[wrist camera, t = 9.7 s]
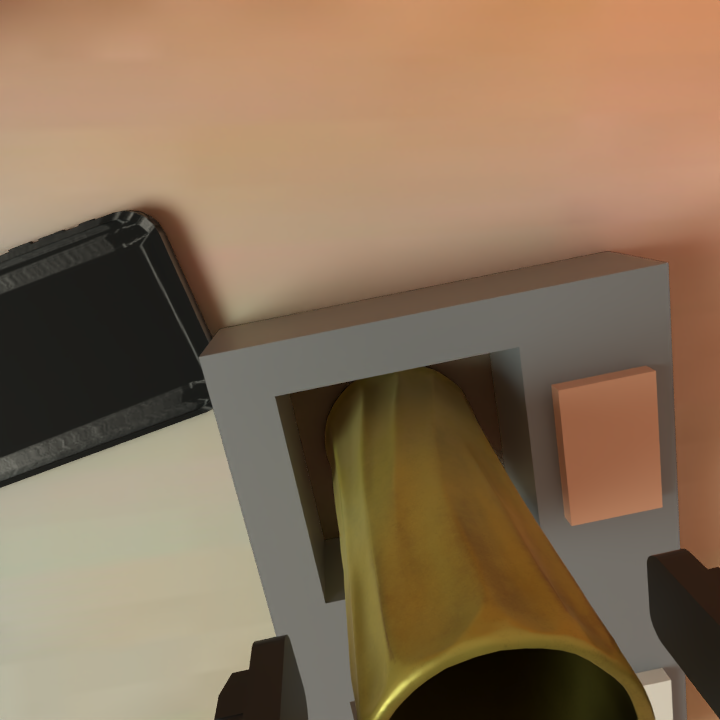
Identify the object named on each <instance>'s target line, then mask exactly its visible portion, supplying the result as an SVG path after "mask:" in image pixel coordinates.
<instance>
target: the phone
mask: <svg viewBox="0 0 720 720" xmlns="http://www.w3.org/2000/svg"><path fill="white" fill-rule="evenodd" d="M38 240H39V241H38V242H35V243H33V242H28V243H26V244H23V245H20V246H18V247H15V248H13V249H10V250H8V251H9V253H6V254H4V255H1V256H0V488H1V487H4V486H6V485H9V484H12V483H14V482H17V481H20V480H23V479H25V478H28V477H31V476H34V475H36V474H39V473H42V472H44V471H47V470H50V469H53V468H55V467H58V466H61V465H63V464H66V463H69V462H72V461H74V460H77V459H80V458H83V457H85V456H88V455H91V454H93V453H96V452H99V451H102V450H104V449H107V448H110V447H113V446H115V445H118V444H121V443H123V442H126V441H129V440H132V439H134V438H137V437H140V436H143V435H145V434H148V433H151V432H153V431H156V430H159V429H162V428H164V427H167V426H170V425H173V424H175V423H178V422H181V421H183V420H186V419H189V418H192V417H194V416H197V415H200V414H203V413H205V412H208V411H209V410H211V409H213V407H212V403H211V399H210V396H209V392H208V389H207V385H206V381H205V378H204V374H203V371H202V367H201V363H200V360H199V356H200V355H201V353H202V352H203V351H204V349H205V348H206V347H207V345H208V344H209V343H210V341H211V340H212V336H211V334H210V332H209V329H208V327H207V325H206V323H205V321H204V318H203V316H202V314H201V312H200V309H199V307H198V305H197V303H196V301H195V298H194V296H193V294H192V292H191V289H190V287H189V285H188V283H187V280H186V278H185V276H184V274H183V272H182V269H181V267H180V265H179V263H178V260H177V258H176V256H175V254H174V251H173V249H172V247H171V245H170V243H169V240H168V238H167V236H166V234H165V232H164V230H163V229H162V227H161V225H160V224H159V223H158V222H157V221H156V220H155V219H154V218H152V217H151V216H149V215H147V214H145V213H143V212H139V211H131V210H129V211H120V212H115V213H112V214H109V215H106V216H104V217H101V218H98V219H96V220H95V219H92V220H89V221H87V222H84V223H81V224H79V226H77V227H75V228H72V229H69V230H67V231H66V230H62V231H59V232H56V233H54V234H51V235H48V236H46V237H43V238H40V239H38Z"/></svg>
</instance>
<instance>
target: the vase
mask: <svg viewBox="0 0 720 720" xmlns="http://www.w3.org/2000/svg"><path fill="white" fill-rule="evenodd" d="M325 449H326V455H327V459H328V461H329V464H330V466H331V471H332V481H333V490H334V498H335V507H336V514H337V521H338V527H339V533H340V547H341V556H342V563H343V570H344V586H345V602H346V617H347V631H348V645H349V662H350V673H351V682H352V688H353V694H354V699H355V706H356V713H357V720H656V719H655V715H654V712H653V708H652V705H651V702H650V700H649V698H648V695H647V693H646V691H645V688H644V687H643V685H642V683H641V682H640V680H639V678H638V677H637V675H636V674H635V672H634V670H633V669H632V667H631V666H630V664H629V663H628V661H627V660H626V658H625V657H624V655H623V654H622V652H621V651H620V649H619V647H618V645H617V643H616V642H615V640H614V638H613V637H612V635H611V634H610V633H609V631H608V630H607V628H606V627H605V625H604V624H603V622H602V621H601V619H600V618H599V617H598V615H597V614H596V612H595V610H594V609H593V607H592V606H591V604H590V603H589V601H588V600H587V598H586V597H585V595H584V593H583V592H582V590H581V589H580V587H579V586H578V584H577V583H576V581H575V579H574V578H573V576H572V575H571V573H570V572H569V570H568V569H567V567H566V566H565V564H564V563H563V561H562V560H561V558H560V557H559V555H558V554H557V552H556V551H555V549H554V548H553V546H552V545H551V543H550V541H549V540H548V538H547V537H546V535H545V534H544V532H543V531H542V529H541V528H540V526H539V525H538V523H537V522H536V520H535V519H534V517H533V515H532V514H531V512H530V511H529V509H528V507H527V506H526V504H525V502H524V501H523V499H522V498H521V496H520V494H519V493H518V491H517V489H516V488H515V486H514V484H513V483H512V481H511V480H510V478H509V476H508V474H507V473H506V471H505V469H504V467H503V466H502V464H501V462H500V461H499V459H498V457H497V455H496V454H495V452H494V450H493V449H492V447H491V445H490V444H489V442H488V440H487V438H486V436H485V435H484V433H483V431H482V429H481V427H480V426H479V424H478V422H477V420H476V418H475V415H474V413H473V410H472V408H471V406H470V405H469V403H468V401H467V399H466V397H465V395H464V393H463V392H462V390H461V388H460V387H458V386H457V385H456V384H455V383H454V382H453V381H451V380H450V379H448V378H447V377H446V376H444V375H443V374H441V373H439V372H438V371H435V370H433V369H430V368H427V367H418V368H413V369H408V370H403V371H398V372H393V373H388V374H383V375H378V376H373V377H369V378H364V379H359V380H355V381H354V382H352V383H351V384H350V385H349V386H348V387H347V388H346V389H345V390H344V391H343V392H342V394H341V395H340V396H339V398H338V399H337V400H336V402H335V404H334V405H333V407H332V409H331V411H330V413H329V415H328V419H327V422H326V428H325Z"/></svg>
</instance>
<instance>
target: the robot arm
mask: <svg viewBox="0 0 720 720" xmlns="http://www.w3.org/2000/svg"><path fill="white" fill-rule="evenodd" d="M647 578H648V595H649V611H650V617H651V621H652V624H653V627H654V630H655V632H656V634H657V636H658V638H659V640H660V641H661V643H662V644H663V646H664V647H665V648H666V650H667V651H668V652H669V653H670V655H671V656H672V657H673V659H674V660H675V661H676V663H677V664H678V665H679V666H680V668H681V669H682V670H683V672H684V673H685V674H686V676H687V677H688V678H689V680H690V681H691V682H692V683H693V685H694V686H695V687H696V689H697V690H698V691H699V693H700V694H701V695H702V697H703V698H704V699H705V700H706V702H707V703H708V704H709V706H710V707H711V708H712V710H713V711H714V712H715V714H716V715H717V716H718V717H719V719H720V568H718V567H717V568H712V569H707V568H706V567H705V566H703V565H702V564H701V563H700V562H699V561H698V560H697V559H696V558H695V557H694V556H693V555H692V554H691V553H690V552H689V551H687V550H686V549H678V550H674V551H669V552H665V553H660V554H656V555H651V556H649V557H648V559H647ZM214 720H308V710H307V701H306V695H305V690H304V686H303V683H302V679H301V676H300V672H299V669H298V665H297V662H296V658H295V655H294V651H293V648H292V644H291V641H290V638H289V636H288V635H282V636H278V637H273V638H269V639H264V640H260V641H255V642H254V643H253V645H252V651H251V659H250V667H249V670H245V671H240V672H235V673H232V674H231V676H230V678H229V679H228V681H227V683H226V684H225V686H224V688H223V689H222V691H221V693H220V694H219V697H218V702H217V708H216V713H215V719H214Z"/></svg>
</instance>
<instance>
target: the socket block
mask: <svg viewBox="0 0 720 720" xmlns="http://www.w3.org/2000/svg"><path fill="white" fill-rule="evenodd" d="M487 353H489V354H490V361H491V369H492V376H493V384H494V391H495V399H496V407H497V414H498V422H499V429H500V437H501V444H502V452H503V460H504V467H505V471H506V473H507V474H508V476H509V478H510V480H511V481H512V483H513V484H514V486H515V488H516V489H517V491H518V493H519V494H520V496H521V498H522V499H523V501H524V502H525V504H526V506H527V507H528V509H529V511H530V512H531V514H532V515H533V517H534V519H535V520H536V522H537V523H538V525H539V526H540V528H541V529H542V531H543V532H544V534H545V535H546V537H547V538H548V540H549V541H550V543H551V545H552V546H553V548H554V549H555V551H556V552H557V554H558V555H559V557H560V558H561V560H562V561H563V563H564V564H565V566H566V567H567V569H568V570H569V572H570V573H571V575H572V576H573V578H574V579H575V581H576V583H577V584H578V586H579V587H580V589H581V590H582V592H583V593H584V595H585V597H586V598H587V600H588V601H589V603H590V604H591V606H592V607H593V609H594V610H595V612H596V614H597V615H598V617H599V618H600V619H601V621H602V622H603V624H604V625H605V627H606V628H607V630H608V631H609V633H610V634H611V635H612V637H613V638H614V640H615V642H616V643H617V645H618V647H619V649H620V651H621V652H622V654H623V655H624V657H625V658H626V660H627V661H628V663H629V664H630V666H631V667H632V669H633V670H634V672H635V674H636V675H637V677H638V678H639V680H640V682H641V683H642V685H643V687H644V688H645V691H646V693H647V695H648V698H649V700H650V702H651V705H652V708H653V712H654V715H655V719H656V720H687V708H686V683H685V673H684V672H683V670H682V669H681V668H680V666H679V665H678V664H677V663H676V661H675V660H674V659H673V657H672V656H671V655H670V653H669V652H668V651H667V650H666V648H665V647H664V646H663V644H662V643H661V641H660V640H659V638H658V636H657V634H656V632H655V630H654V627H653V624H652V621H651V617H650V611H649V595H648V578H647V559H648V557H649V556H651V555H656V554H660V553H665V552H669V551H674V550H678V549H680V535H679V511H678V486H677V462H676V437H675V412H674V388H673V363H672V339H671V314H670V289H669V265H668V263H667V262H662V261H657V260H652V259H646V258H641V257H636V256H631V255H626V254H621V253H615V252H610V251H606V252H601V253H596V254H591V255H586V256H581V257H576V258H571V259H566V260H561V261H556V262H551V263H546V264H541V265H536V266H531V267H526V268H521V269H516V270H511V271H506V272H501V273H496V274H491V275H486V276H481V277H476V278H471V279H466V280H461V281H456V282H451V283H446V284H441V285H436V286H431V287H426V288H421V289H416V290H411V291H406V292H401V293H396V294H391V295H386V296H381V297H376V298H371V299H366V300H362V301H357V302H352V303H347V304H342V305H337V306H332V307H327V308H322V309H317V310H312V311H307V312H302V313H297V314H292V315H287V316H282V317H277V318H272V319H267V320H262V321H257V322H252V323H247V324H242V325H237V326H232V327H227V328H222V329H219V330H218V332H217V333H216V334H215V336H214V337H213V338H212V340H211V341H210V343H209V344H208V345H207V347H206V348H205V349H204V351H203V352H202V353H201V355H200V356H199V360H200V363H201V367H202V371H203V374H204V378H205V381H206V385H207V389H208V392H209V396H210V399H211V403H212V407H213V410H214V414H215V417H216V421H217V425H218V428H219V432H220V435H221V439H222V443H223V446H224V450H225V453H226V457H227V461H228V464H229V468H230V471H231V475H232V478H233V482H234V486H235V489H236V493H237V496H238V500H239V504H240V507H241V511H242V514H243V518H244V522H245V525H246V529H247V532H248V536H249V540H250V543H251V547H252V550H253V554H254V558H255V561H256V565H257V568H258V572H259V576H260V579H261V583H262V586H263V590H264V593H265V597H266V601H267V604H268V608H269V611H270V615H271V619H272V622H273V626H274V629H275V633H276V637H278V636H282V635H288V636H289V638H290V641H291V644H292V648H293V651H294V655H295V658H296V662H297V665H298V669H299V672H300V676H301V679H302V683H303V686H304V690H305V695H306V701H307V710H308V720H357V713H356V706H355V699H354V694H353V688H352V682H351V673H350V662H349V645H348V631H347V617H346V602H345V586H344V570H343V563H342V556H341V547H340V537H338V538H334V539H329V540H324V537H323V533H322V528H321V524H320V520H319V516H318V512H317V507H316V503H315V499H314V495H313V490H312V486H311V482H310V478H309V474H308V469H307V465H306V461H305V457H304V452H303V448H302V444H301V440H300V436H299V431H298V427H297V423H296V419H295V414H294V410H293V406H292V402H291V398H290V393H294V392H299V391H304V390H309V389H314V388H319V387H324V386H329V385H334V384H339V383H344V382H349V381H354V380H359V379H364V378H369V377H373V376H378V375H383V374H388V373H393V372H398V371H403V370H408V369H413V368H418V367H423V366H428V365H433V364H438V363H443V362H448V361H453V360H457V359H462V358H467V357H472V356H477V355H482V354H487Z"/></svg>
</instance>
